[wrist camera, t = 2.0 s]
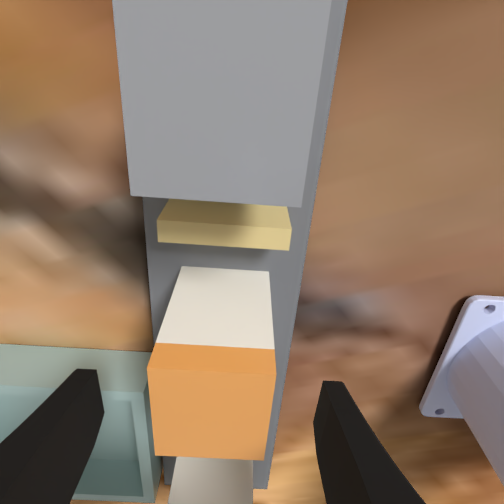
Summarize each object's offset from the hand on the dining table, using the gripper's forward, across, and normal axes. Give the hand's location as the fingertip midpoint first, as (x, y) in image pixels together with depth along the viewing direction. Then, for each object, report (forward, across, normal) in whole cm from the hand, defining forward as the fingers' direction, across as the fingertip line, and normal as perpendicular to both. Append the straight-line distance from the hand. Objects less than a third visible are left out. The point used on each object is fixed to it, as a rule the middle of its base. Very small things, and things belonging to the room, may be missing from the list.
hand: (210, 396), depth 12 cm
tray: (+6, +8, +8) cm, 13 cm away
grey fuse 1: (+5, 0, -9) cm, 10 cm away
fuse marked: (+5, 0, 0) cm, 5 cm away
